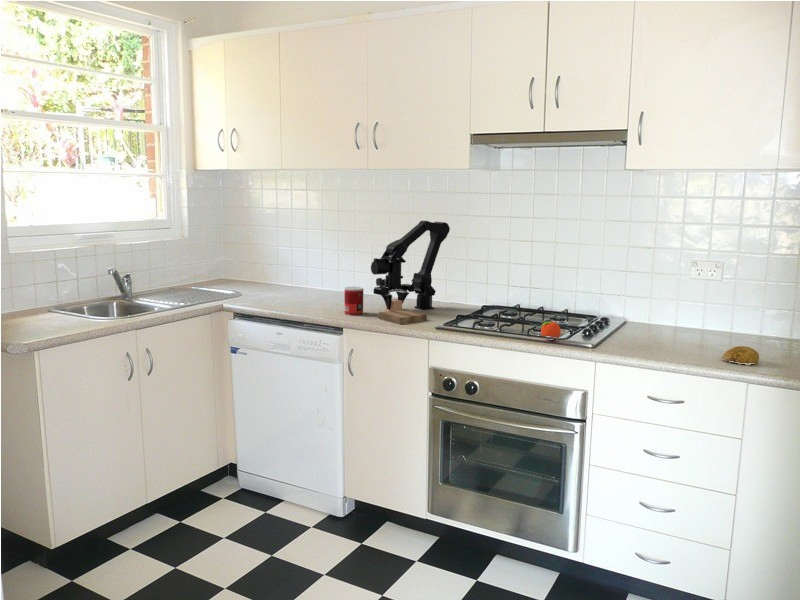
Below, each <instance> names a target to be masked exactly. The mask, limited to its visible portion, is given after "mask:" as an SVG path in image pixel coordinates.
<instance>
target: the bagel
mask: <svg viewBox="0 0 800 600" xmlns="http://www.w3.org/2000/svg"><path fill="white" fill-rule="evenodd" d="M722 359H724V360H726V361H734V362H739V363H747V364H748V363H756V364H757V363H758V362H759V360H760V354H759V352H758V351H757V350H755V348H751V347H749V346H743V345H742V346H741V345H739V346H733V347H731V348H730V349H728V350H726V351H725V352H724V353H723V355H721V360H722Z"/></svg>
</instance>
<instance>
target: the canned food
mask: <svg viewBox="0 0 800 600" xmlns="http://www.w3.org/2000/svg"><path fill="white" fill-rule="evenodd" d="M363 313H364V287H361V286H347V287H344V314H345V315H347V314H349V315H348V316H360V315H359V314H362V315H363Z"/></svg>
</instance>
